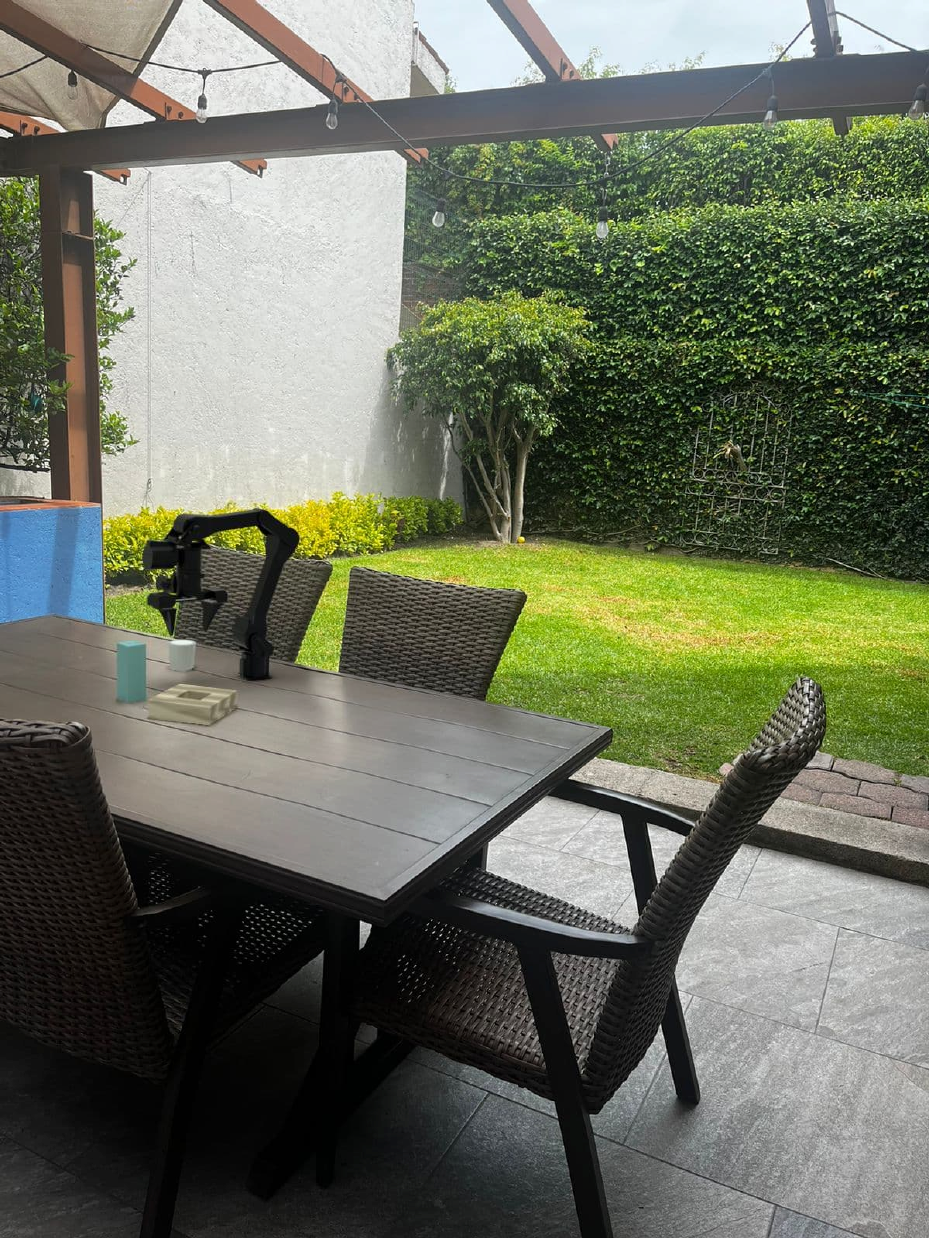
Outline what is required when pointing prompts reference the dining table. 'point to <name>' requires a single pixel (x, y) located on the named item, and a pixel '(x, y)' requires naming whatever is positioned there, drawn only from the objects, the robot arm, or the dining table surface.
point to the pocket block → (192, 704)
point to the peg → (131, 671)
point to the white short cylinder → (181, 654)
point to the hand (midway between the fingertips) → (188, 633)
